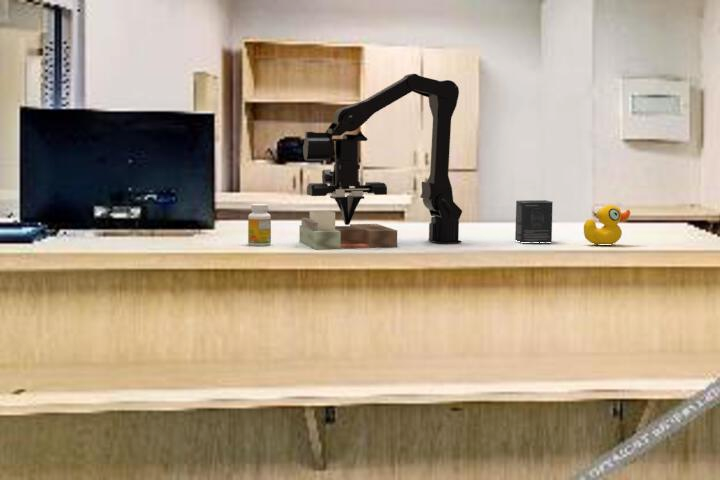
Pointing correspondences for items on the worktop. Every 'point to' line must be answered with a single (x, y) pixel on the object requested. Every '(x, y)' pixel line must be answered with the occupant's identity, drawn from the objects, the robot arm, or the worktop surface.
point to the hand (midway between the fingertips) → (347, 224)
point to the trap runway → (347, 236)
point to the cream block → (323, 219)
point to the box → (534, 221)
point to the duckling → (606, 226)
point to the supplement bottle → (259, 225)
